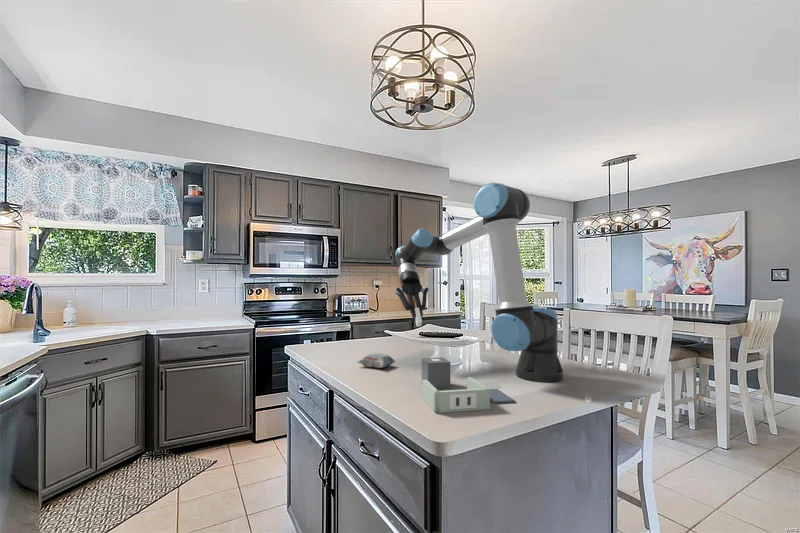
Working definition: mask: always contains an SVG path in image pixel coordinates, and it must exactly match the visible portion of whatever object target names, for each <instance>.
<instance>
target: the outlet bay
mask: <svg viewBox="0 0 800 533" xmlns="http://www.w3.org/2000/svg"><path fill="white" fill-rule="evenodd" d="M466 384H467V385H466V387H467V388H466V389H445V390H439V389H436V388H435V387H434V386H433V385H432V384H431V383H430V382H428V381H427V380H422V379H421V389H422V390H421V393H422V394H421V397H422V398H421V399H423V401H424V402H425V404H427V405H428V406H429V407H430V409H431V410H432V411H433V412H434V413H435V414H440V413H441V414H443V413H457V412H469V411H471V412H473V411H483V410H490V409H491V401H490V389H491V388H489V387H487V386H485V385H484V384H483V383H481V382H480V381H478V380H476V379H475V378H473V377H471V376H469V377H468V376H467V380H466Z"/></svg>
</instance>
